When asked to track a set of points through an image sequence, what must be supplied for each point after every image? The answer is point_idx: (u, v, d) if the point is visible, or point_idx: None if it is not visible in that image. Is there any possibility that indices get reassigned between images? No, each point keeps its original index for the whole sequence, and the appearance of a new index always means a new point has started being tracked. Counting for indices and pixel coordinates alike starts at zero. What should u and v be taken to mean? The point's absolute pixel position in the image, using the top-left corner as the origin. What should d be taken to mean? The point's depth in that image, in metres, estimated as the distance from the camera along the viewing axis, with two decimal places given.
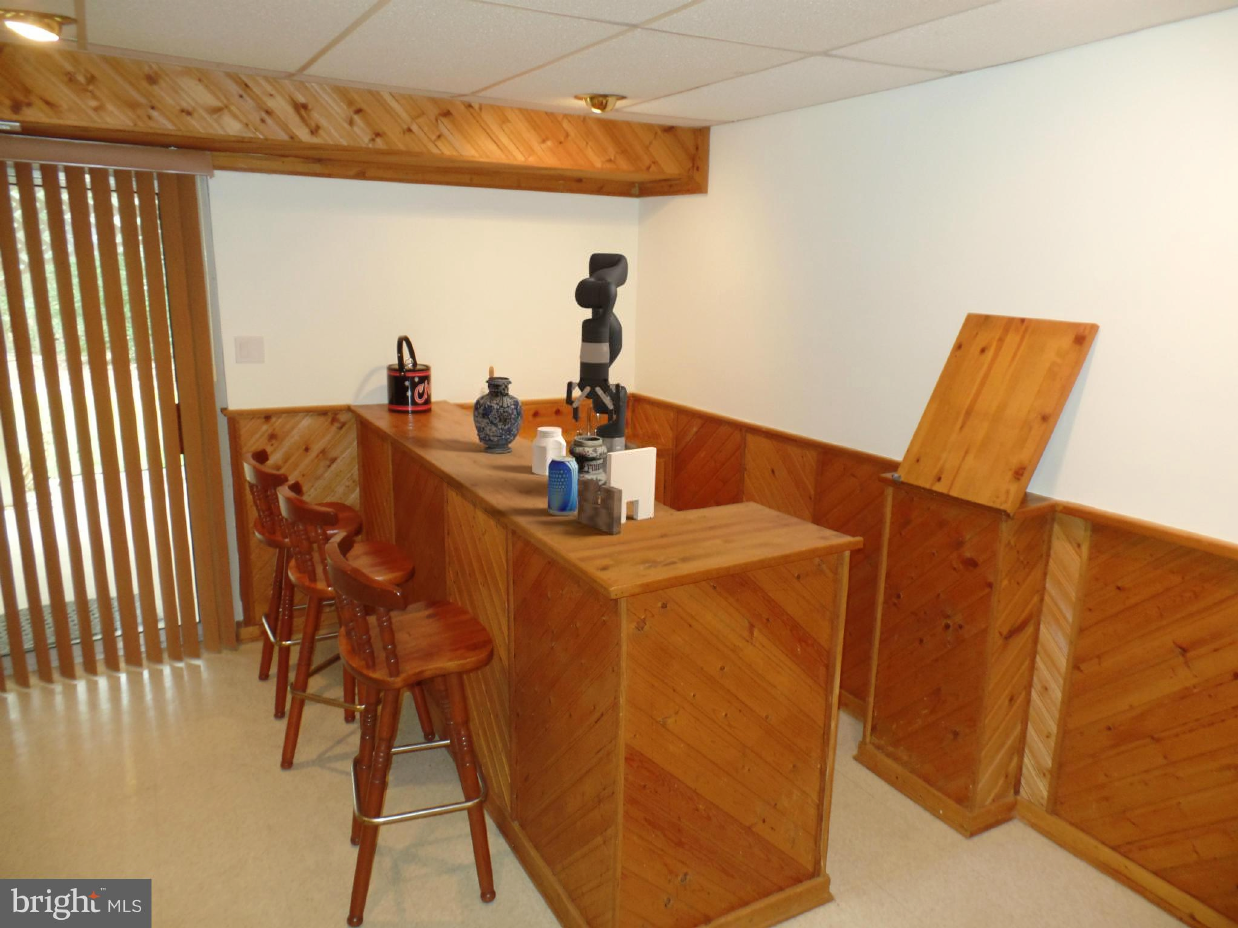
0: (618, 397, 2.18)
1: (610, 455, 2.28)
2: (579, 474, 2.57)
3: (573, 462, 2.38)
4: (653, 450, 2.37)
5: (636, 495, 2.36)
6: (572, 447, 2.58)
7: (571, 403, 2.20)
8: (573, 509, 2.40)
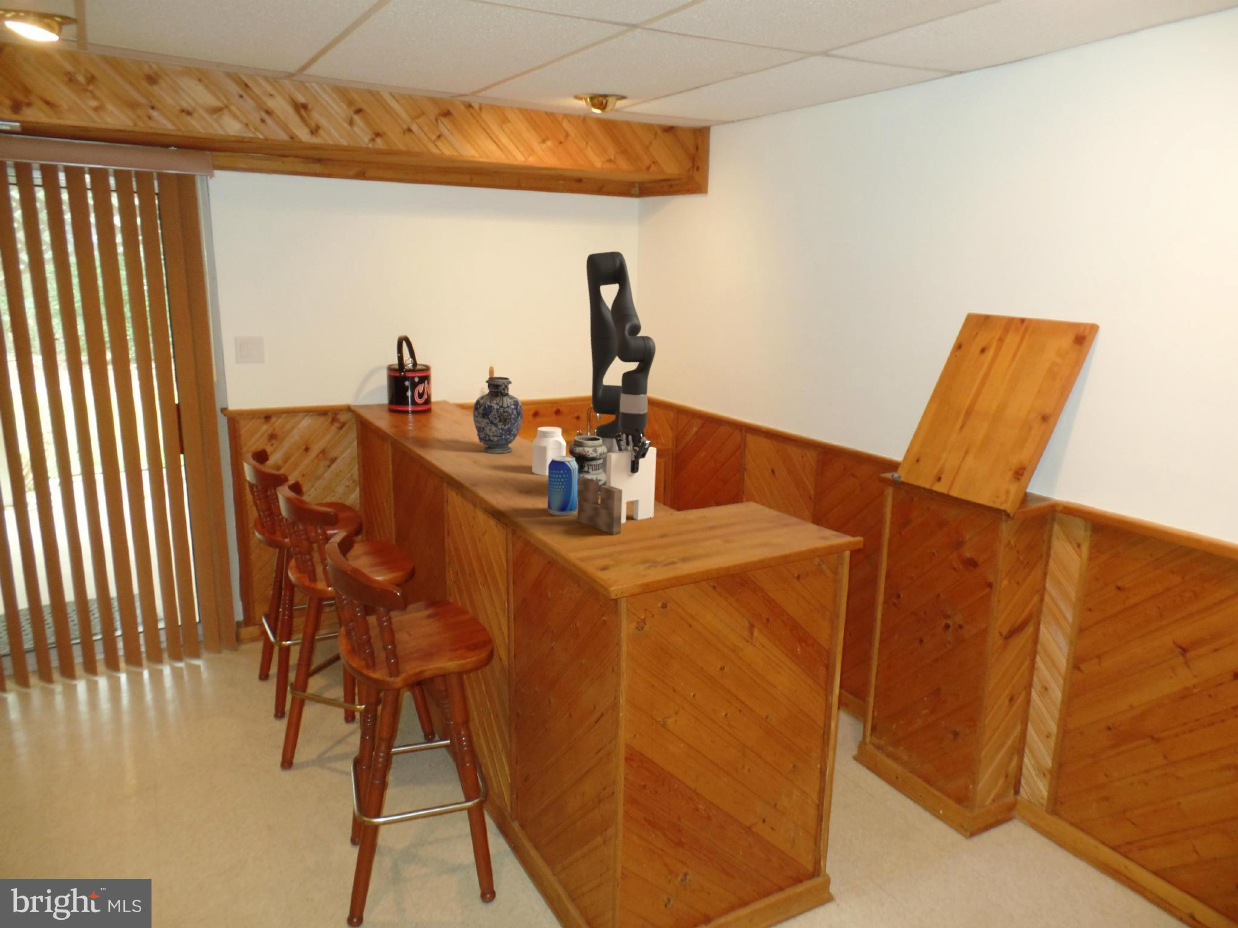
0: None
1: (610, 455, 2.28)
2: (579, 474, 2.57)
3: (573, 462, 2.38)
4: (653, 450, 2.37)
5: (636, 495, 2.36)
6: (572, 447, 2.58)
7: None
8: (573, 509, 2.40)
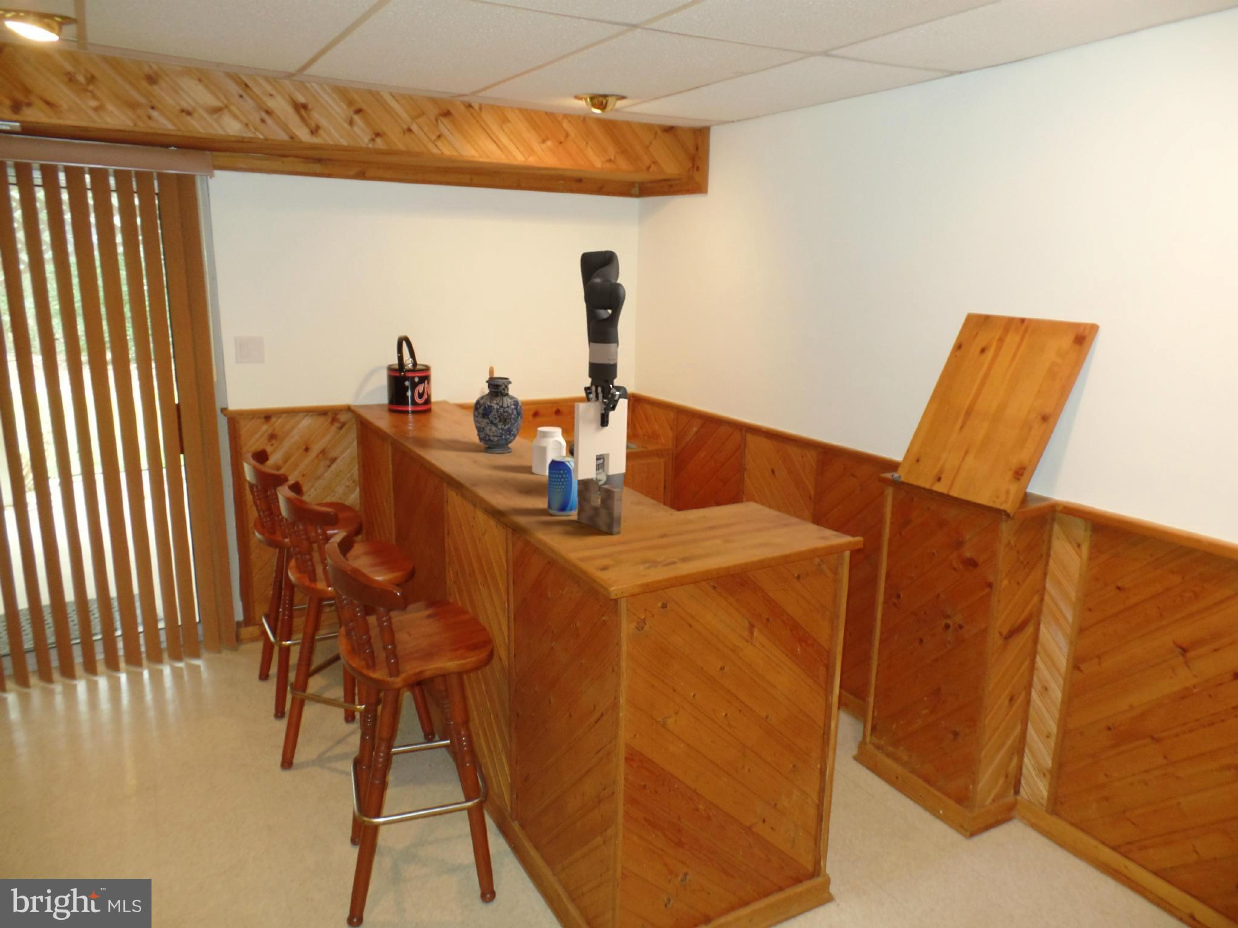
0: None
1: (578, 405, 2.18)
2: None
3: (573, 462, 2.38)
4: (624, 401, 2.27)
5: (606, 448, 2.26)
6: (572, 447, 2.58)
7: None
8: (573, 509, 2.40)
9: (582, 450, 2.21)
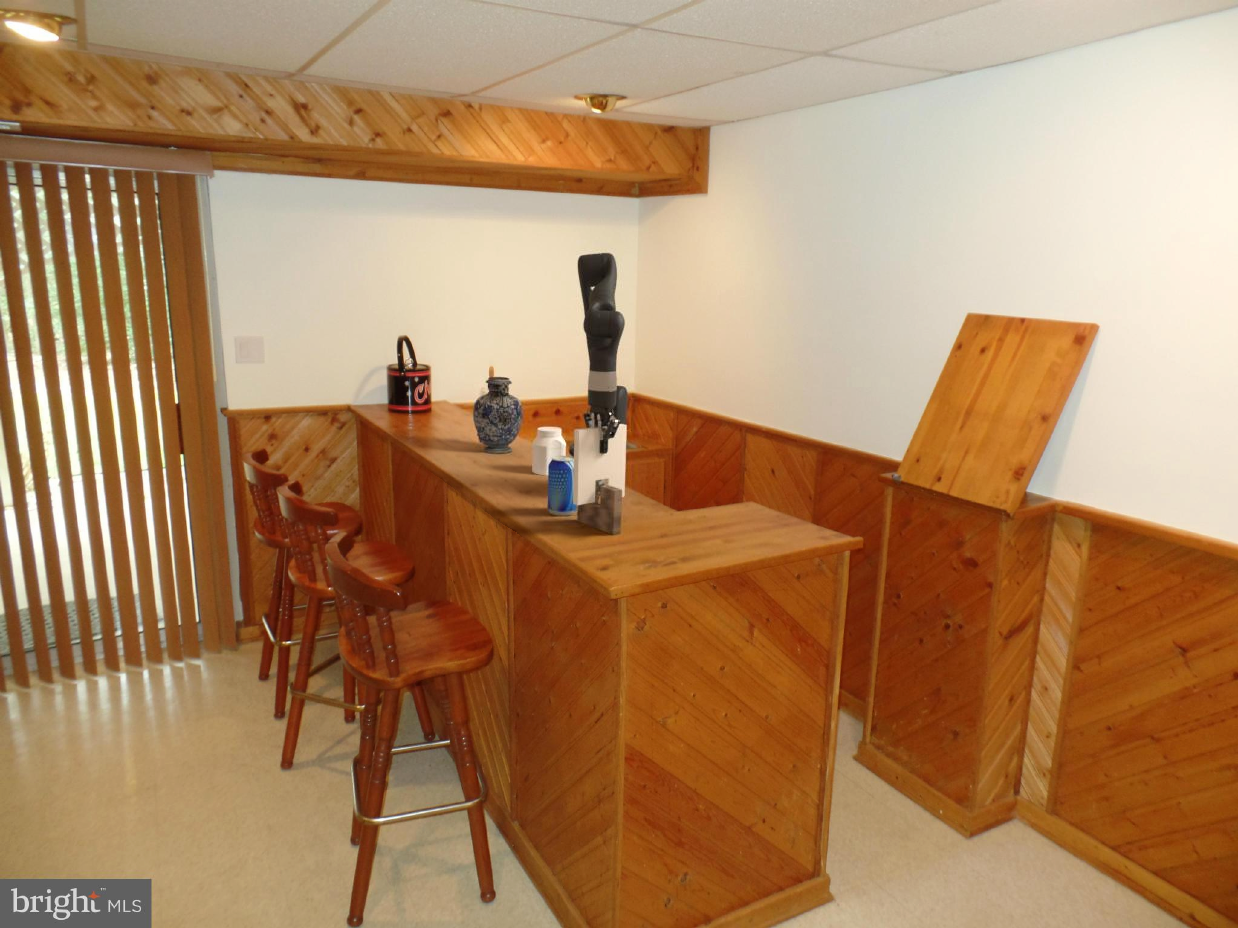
0: None
1: (577, 431, 2.19)
2: None
3: (573, 462, 2.39)
4: (623, 427, 2.28)
5: (605, 473, 2.27)
6: (572, 447, 2.58)
7: None
8: (573, 509, 2.40)
9: (581, 475, 2.22)
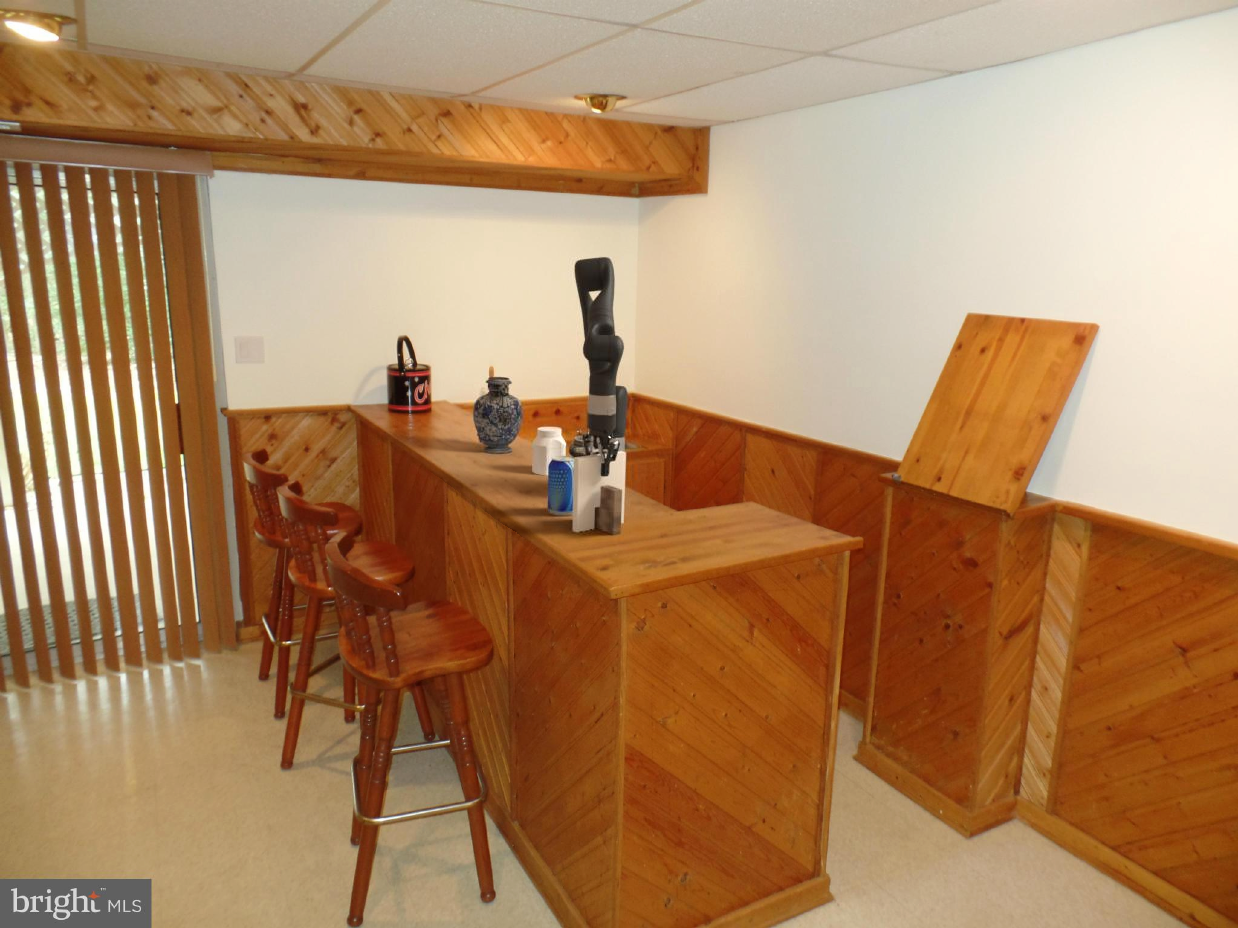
0: None
1: (577, 459, 2.21)
2: None
3: (573, 462, 2.39)
4: (623, 454, 2.30)
5: None
6: (572, 447, 2.58)
7: None
8: None
9: (581, 503, 2.24)
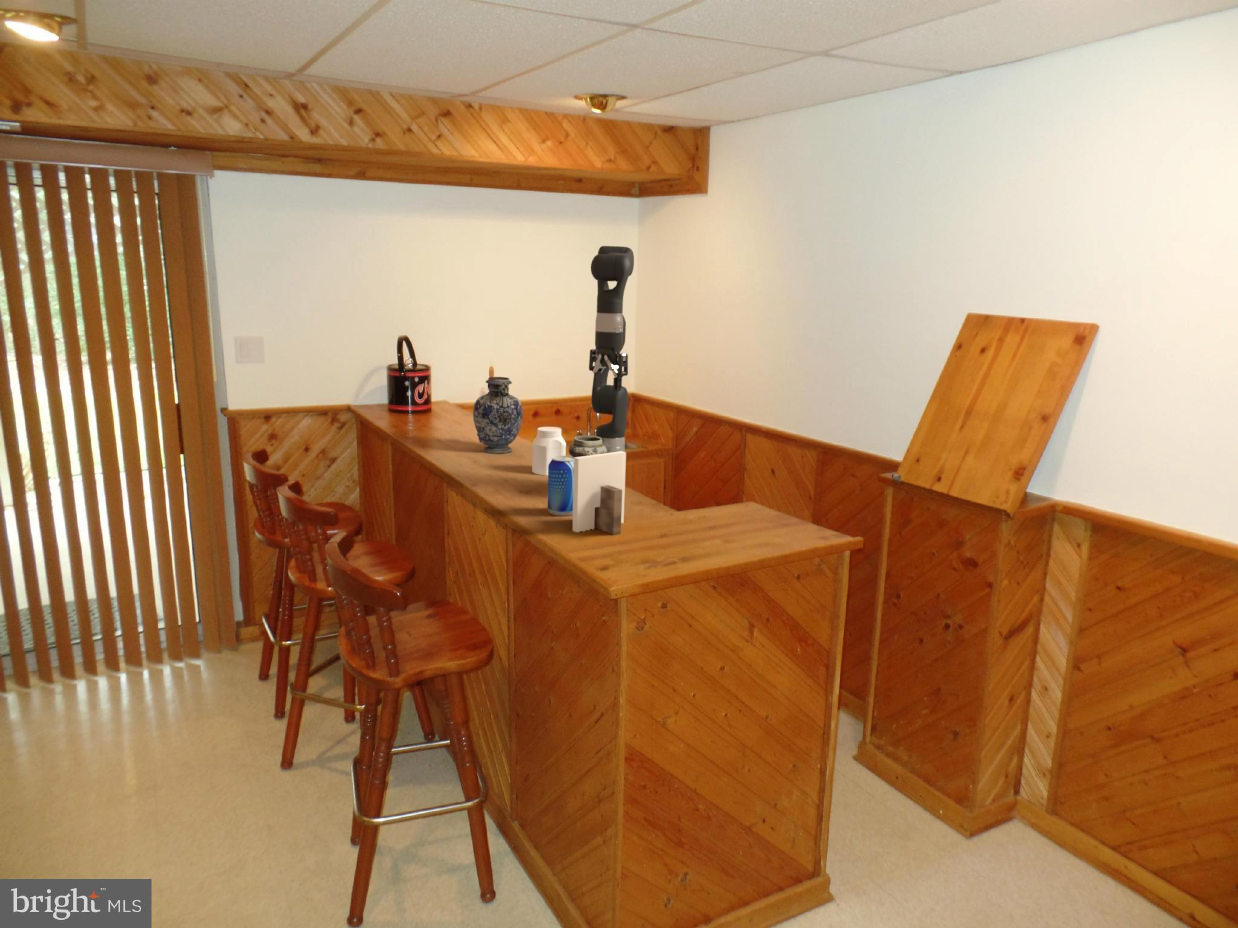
0: None
1: (577, 459, 2.21)
2: None
3: (573, 462, 2.39)
4: (623, 454, 2.30)
5: None
6: (572, 447, 2.58)
7: None
8: None
9: (581, 503, 2.24)
